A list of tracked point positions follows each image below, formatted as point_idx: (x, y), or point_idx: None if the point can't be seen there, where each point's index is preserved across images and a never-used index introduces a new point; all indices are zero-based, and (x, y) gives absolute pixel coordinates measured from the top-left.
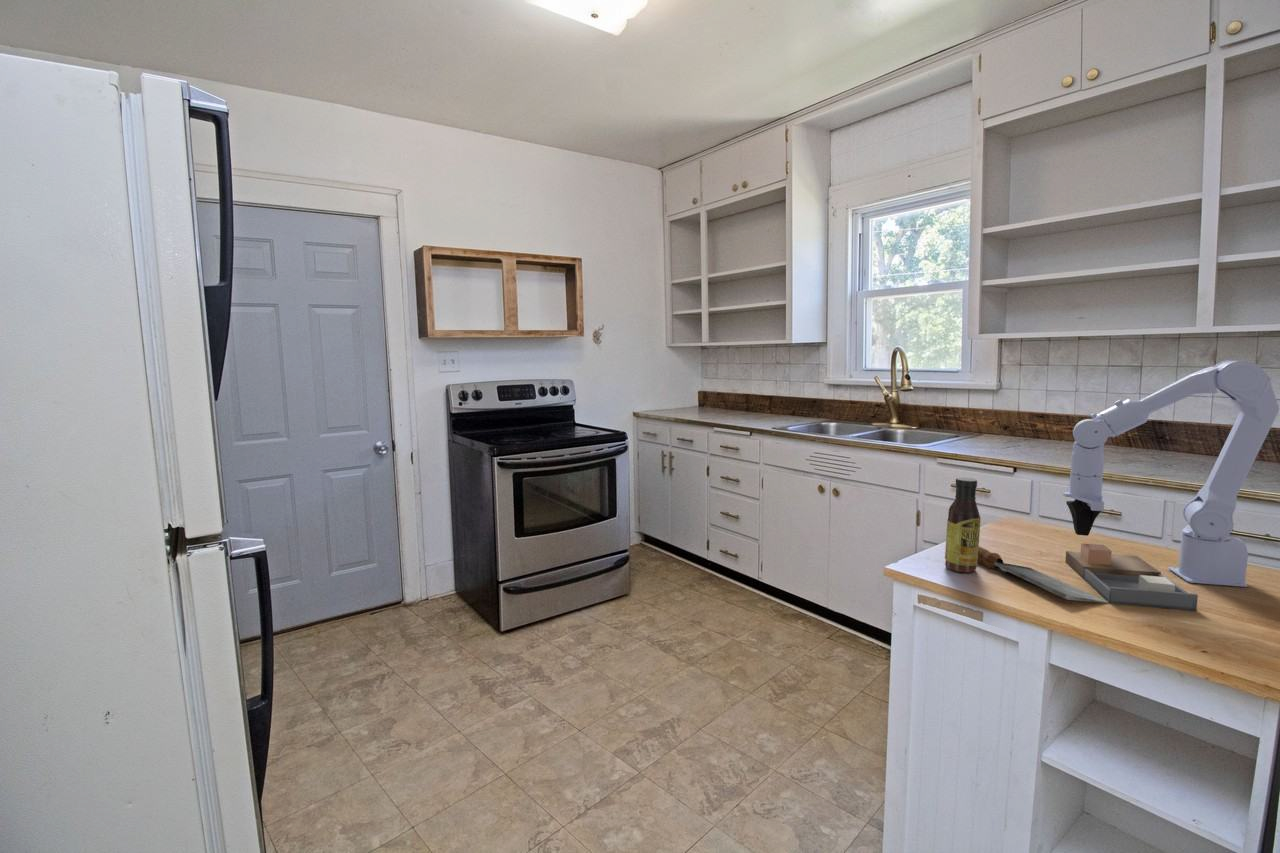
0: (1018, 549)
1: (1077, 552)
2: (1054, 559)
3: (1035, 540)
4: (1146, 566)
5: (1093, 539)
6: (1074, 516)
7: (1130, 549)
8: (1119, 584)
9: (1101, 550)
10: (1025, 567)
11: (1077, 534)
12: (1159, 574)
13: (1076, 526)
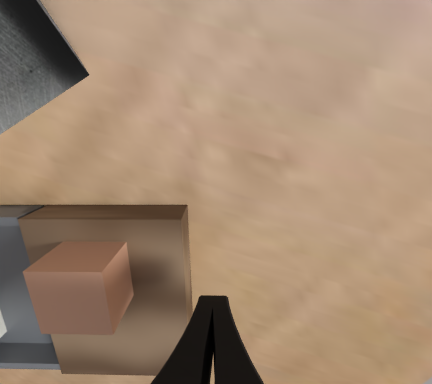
0: (299, 91)
1: (176, 249)
2: (207, 182)
3: (417, 184)
4: (99, 364)
5: (426, 339)
6: (195, 374)
7: (339, 381)
8: (15, 269)
9: (33, 307)
10: (59, 51)
11: (201, 296)
12: (58, 365)
13: (189, 323)
